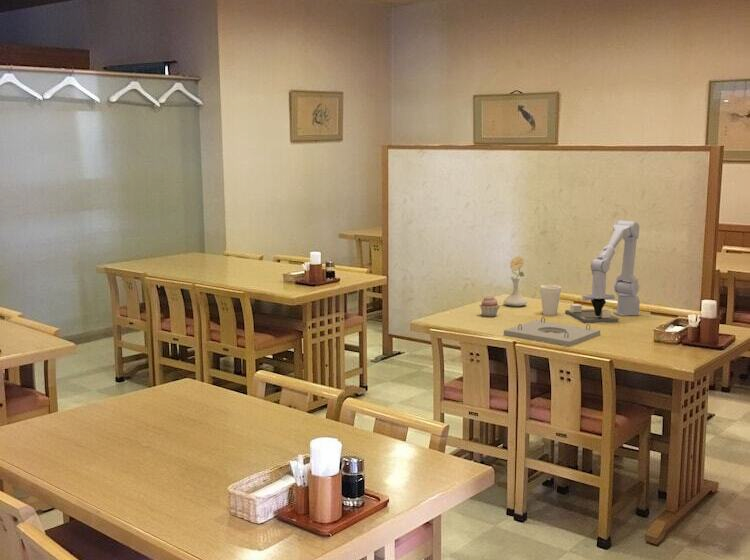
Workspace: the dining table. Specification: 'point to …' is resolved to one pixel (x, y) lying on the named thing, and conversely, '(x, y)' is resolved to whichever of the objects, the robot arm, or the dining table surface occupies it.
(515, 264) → the flower in vase
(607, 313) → the handle
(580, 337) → the mounting panel
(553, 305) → the foam cup
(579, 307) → the handle
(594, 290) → the robot arm
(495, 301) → the cupcake
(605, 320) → the plate
